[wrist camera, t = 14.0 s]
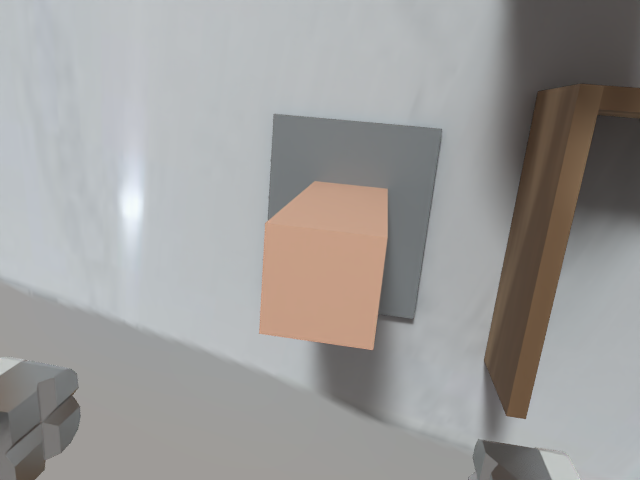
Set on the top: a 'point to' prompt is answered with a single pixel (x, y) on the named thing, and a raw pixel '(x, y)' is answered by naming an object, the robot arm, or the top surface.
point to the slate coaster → (365, 184)
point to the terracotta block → (325, 265)
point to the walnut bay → (544, 230)
